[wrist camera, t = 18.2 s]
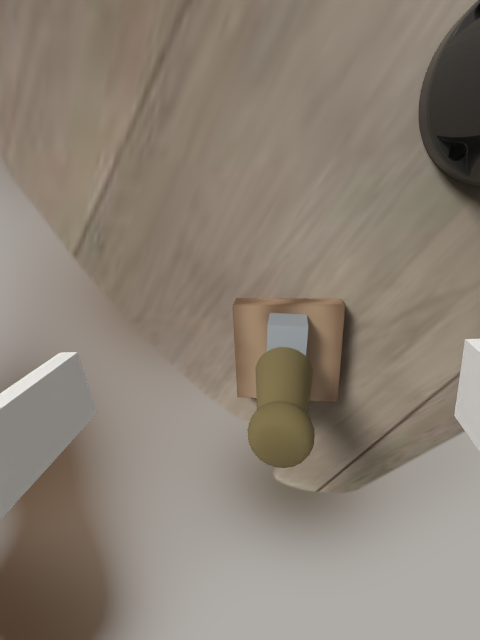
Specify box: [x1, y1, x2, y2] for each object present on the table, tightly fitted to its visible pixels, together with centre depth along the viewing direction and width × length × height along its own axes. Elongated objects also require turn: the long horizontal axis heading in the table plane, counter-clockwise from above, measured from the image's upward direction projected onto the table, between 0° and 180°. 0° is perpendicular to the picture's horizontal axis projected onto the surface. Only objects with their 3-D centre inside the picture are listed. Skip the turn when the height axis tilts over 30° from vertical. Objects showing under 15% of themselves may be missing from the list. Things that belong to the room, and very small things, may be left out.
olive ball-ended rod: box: [248, 347, 314, 468], centre depth 29 cm, size 6×6×11 cm
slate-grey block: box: [267, 313, 308, 356], centre depth 36 cm, size 4×11×4 cm, turn 179°
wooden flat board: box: [233, 298, 345, 402], centre depth 39 cm, size 12×12×4 cm
